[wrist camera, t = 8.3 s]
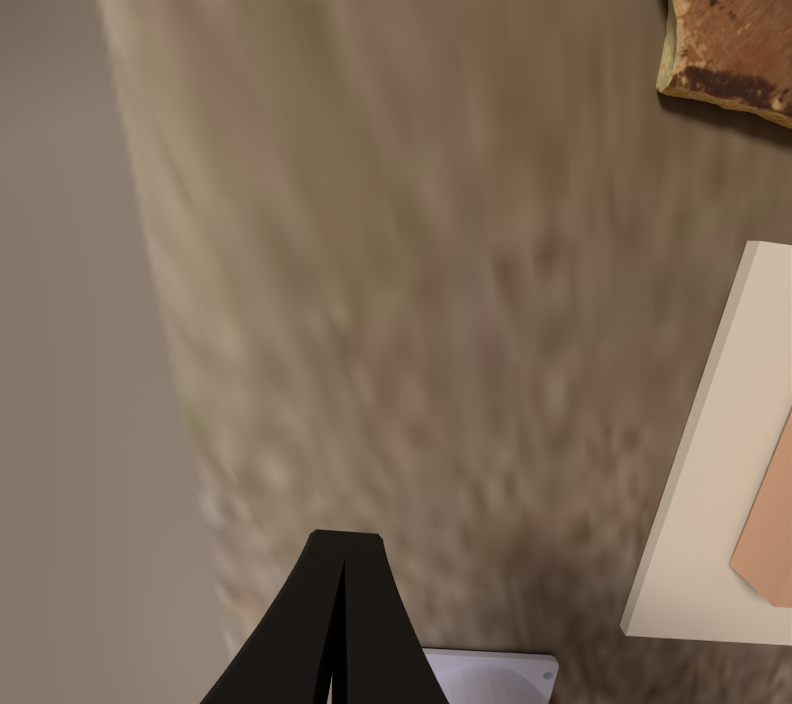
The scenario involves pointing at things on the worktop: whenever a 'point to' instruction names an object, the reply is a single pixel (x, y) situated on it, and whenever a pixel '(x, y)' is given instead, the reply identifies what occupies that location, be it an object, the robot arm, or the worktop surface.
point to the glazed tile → (770, 531)
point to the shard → (730, 55)
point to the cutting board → (723, 471)
